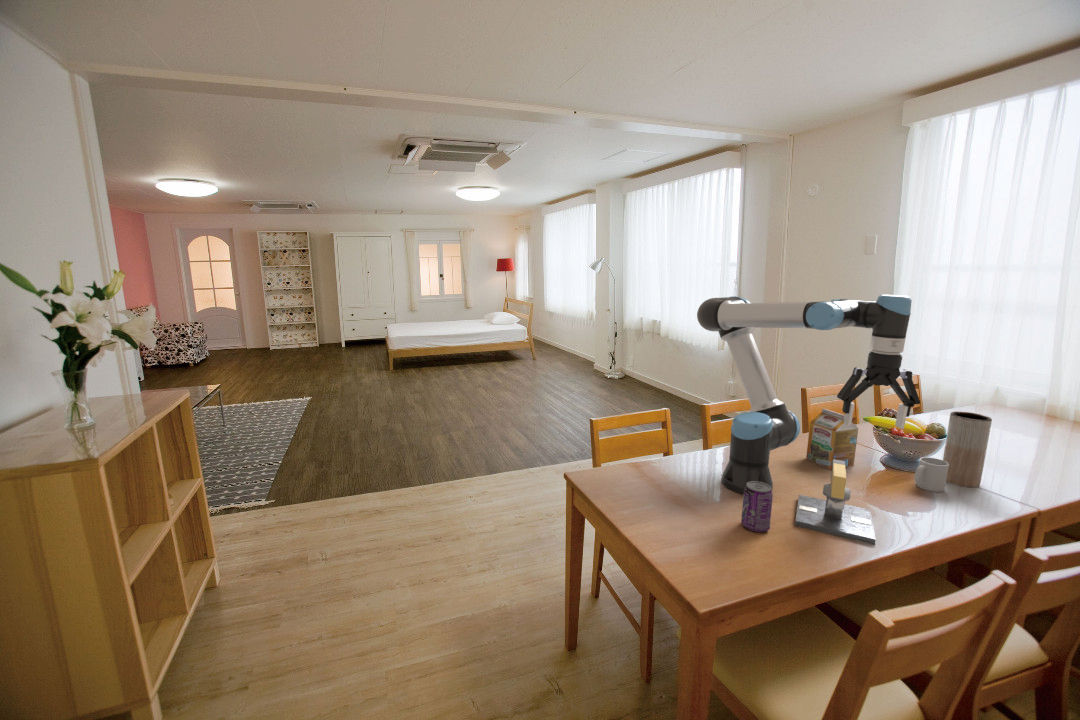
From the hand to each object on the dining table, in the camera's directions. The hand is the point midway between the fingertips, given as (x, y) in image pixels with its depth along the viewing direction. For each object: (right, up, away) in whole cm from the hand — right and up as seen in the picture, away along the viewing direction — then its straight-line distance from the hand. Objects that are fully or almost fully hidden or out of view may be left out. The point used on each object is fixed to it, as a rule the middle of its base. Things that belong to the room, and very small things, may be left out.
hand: (873, 425), depth 133 cm
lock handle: (-12, -19, -2) cm, 23 cm away
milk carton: (+12, -19, +39) cm, 45 cm away
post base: (-12, -26, -1) cm, 29 cm away
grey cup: (+30, -23, +19) cm, 42 cm away
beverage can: (-36, -27, -5) cm, 45 cm away
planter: (+45, -22, +23) cm, 55 cm away
